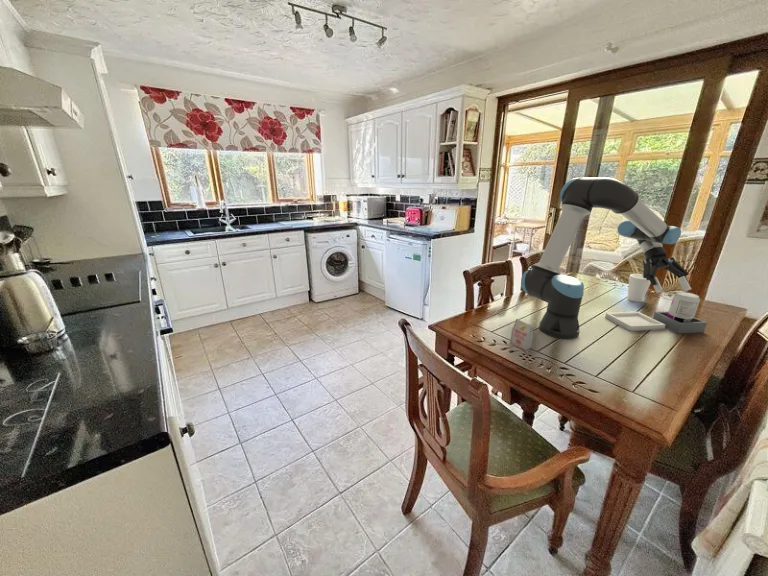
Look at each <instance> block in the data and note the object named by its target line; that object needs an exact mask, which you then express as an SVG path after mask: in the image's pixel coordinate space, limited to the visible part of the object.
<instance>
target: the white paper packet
mask: <svg viewBox="0 0 768 576" xmlns="http://www.w3.org/2000/svg"><path fill="white" fill-rule="evenodd" d="M510 335H511V336H510V342H509V343H510V344H512V345H513V346H516V347H517V348H519V349H522V351H527V350H529V349H532V346H533V345H532V344H533V338H534V331H533V325H532V324H530V323H527V322H524V321H522V320H521V319H517V318H516V320H515V322H514V325H513V326H512V329H511V334H510Z"/></svg>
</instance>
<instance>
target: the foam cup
mask: <svg viewBox="0 0 768 576" xmlns="http://www.w3.org/2000/svg"><path fill="white" fill-rule="evenodd" d="M650 285H651V282H650V280H646V278H643V273H642V274H641V273H630V275H629V278H628V288H627V289H628V290H627V298H626V299H627V300H628V301H631V302H635V303H641V302H643V300H644V298H645V295H646V293H647V292H648V290H649V287H650Z"/></svg>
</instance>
